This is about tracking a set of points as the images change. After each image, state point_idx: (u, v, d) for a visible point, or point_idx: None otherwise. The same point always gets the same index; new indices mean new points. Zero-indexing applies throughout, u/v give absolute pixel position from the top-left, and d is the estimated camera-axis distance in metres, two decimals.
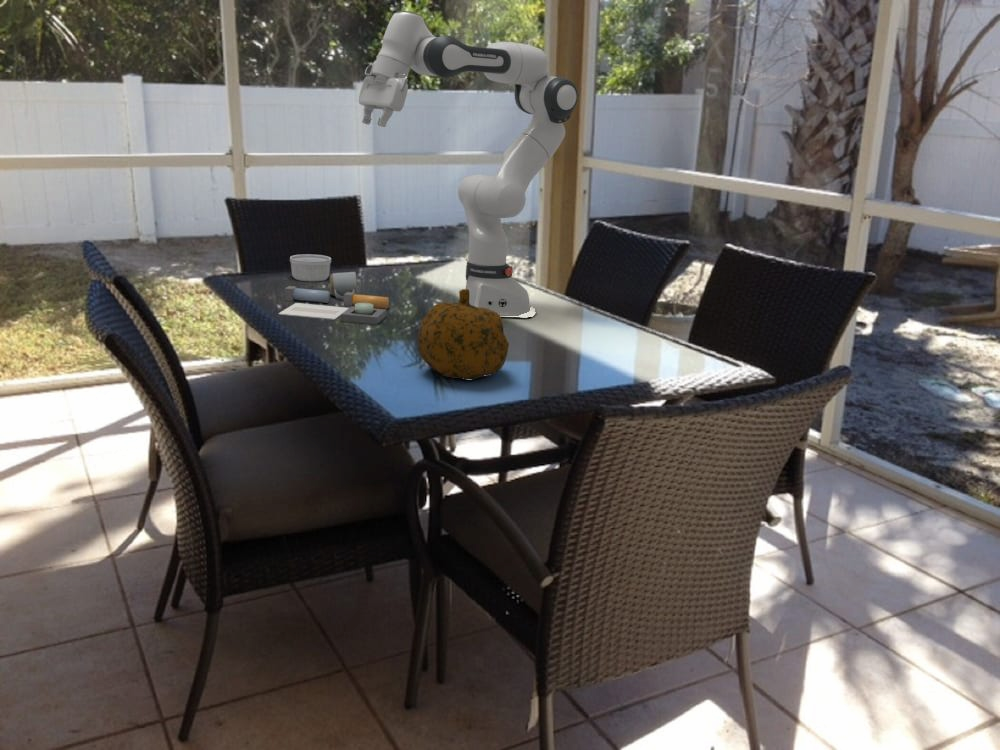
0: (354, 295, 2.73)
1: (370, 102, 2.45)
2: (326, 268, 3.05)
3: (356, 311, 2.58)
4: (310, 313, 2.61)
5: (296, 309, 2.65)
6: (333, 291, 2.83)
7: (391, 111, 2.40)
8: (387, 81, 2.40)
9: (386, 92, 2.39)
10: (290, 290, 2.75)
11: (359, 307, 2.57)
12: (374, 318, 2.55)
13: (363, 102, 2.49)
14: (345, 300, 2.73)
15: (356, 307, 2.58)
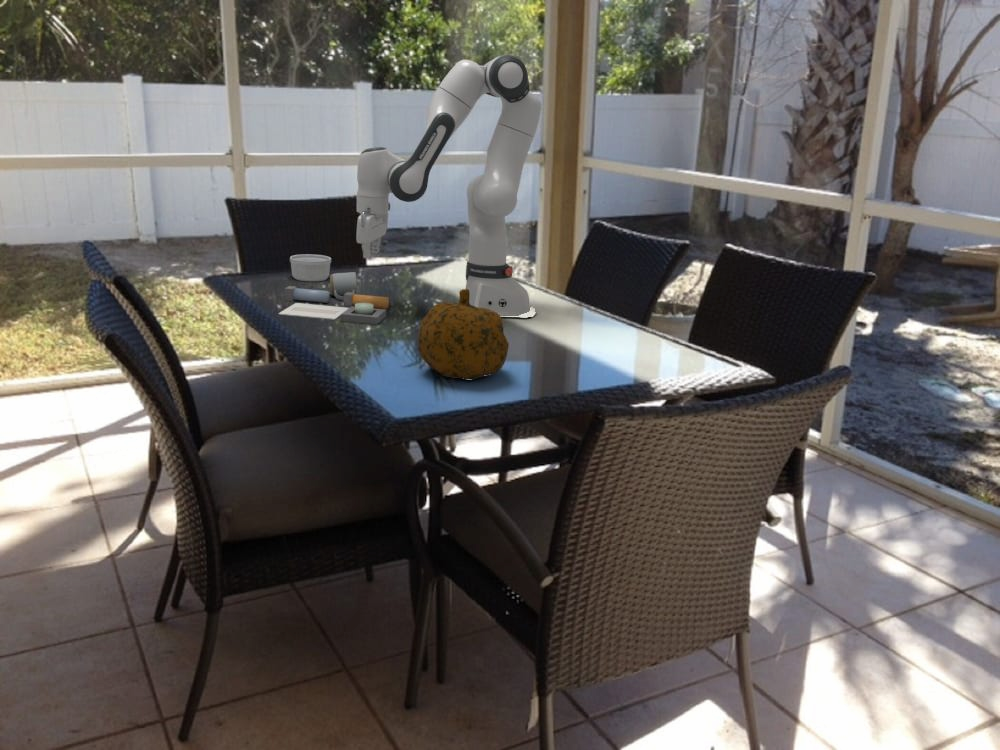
0: (354, 295, 2.73)
1: None
2: (326, 268, 3.05)
3: (356, 311, 2.58)
4: (310, 313, 2.61)
5: (296, 309, 2.65)
6: (333, 291, 2.82)
7: (367, 244, 2.62)
8: None
9: None
10: (290, 290, 2.75)
11: (359, 307, 2.57)
12: (374, 318, 2.55)
13: None
14: (345, 300, 2.73)
15: (356, 307, 2.58)
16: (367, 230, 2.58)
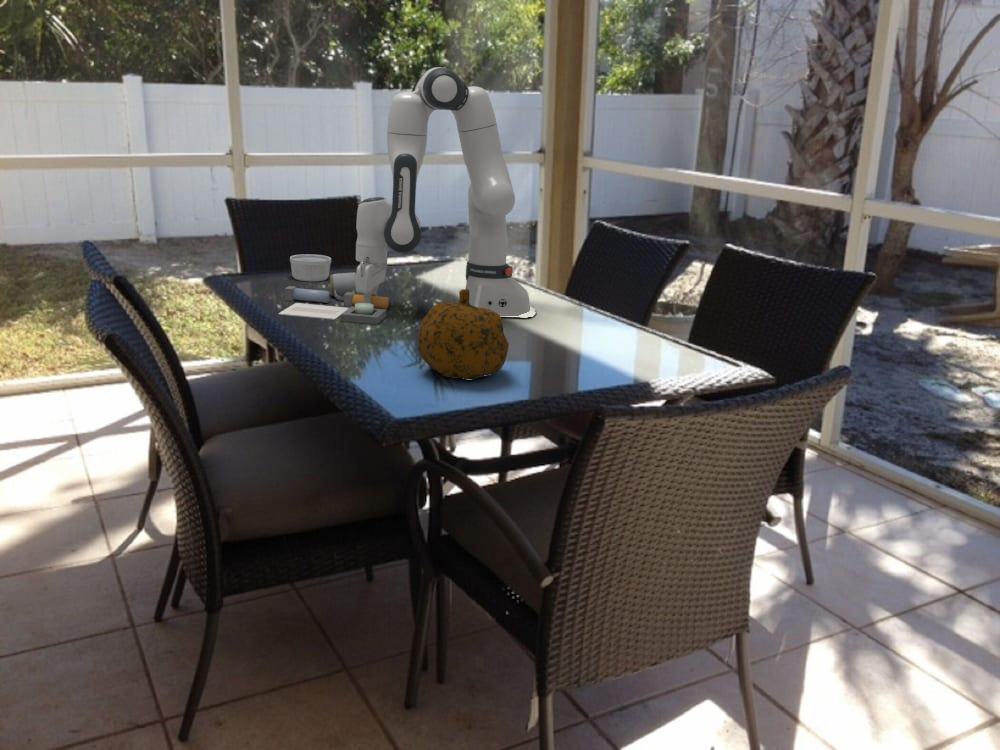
0: (354, 295, 2.73)
1: None
2: (326, 268, 3.05)
3: (356, 311, 2.58)
4: (310, 313, 2.61)
5: (296, 309, 2.65)
6: (333, 292, 2.82)
7: (368, 290, 2.68)
8: None
9: None
10: (290, 290, 2.75)
11: (359, 307, 2.57)
12: (374, 318, 2.55)
13: None
14: (345, 300, 2.73)
15: (356, 307, 2.58)
16: (366, 279, 2.62)
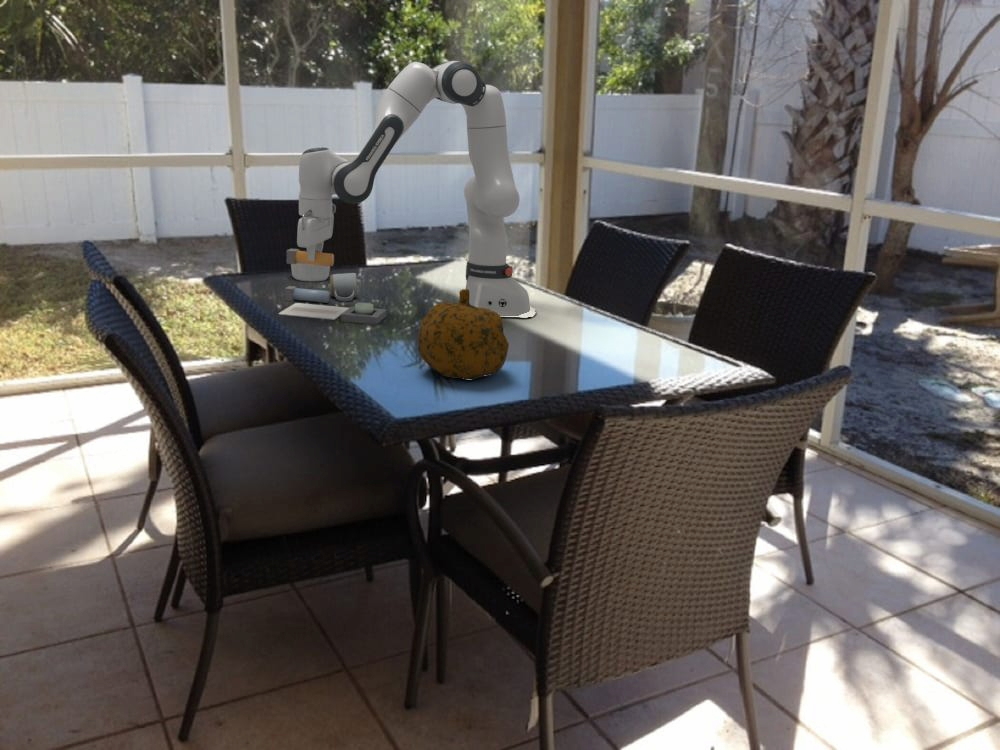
0: (297, 251, 2.60)
1: None
2: (326, 268, 3.05)
3: (356, 311, 2.58)
4: (310, 313, 2.61)
5: (296, 309, 2.65)
6: (333, 292, 2.81)
7: (312, 246, 2.55)
8: None
9: None
10: (290, 290, 2.75)
11: (359, 307, 2.57)
12: (374, 318, 2.55)
13: None
14: (288, 257, 2.60)
15: (356, 307, 2.58)
16: (308, 233, 2.49)
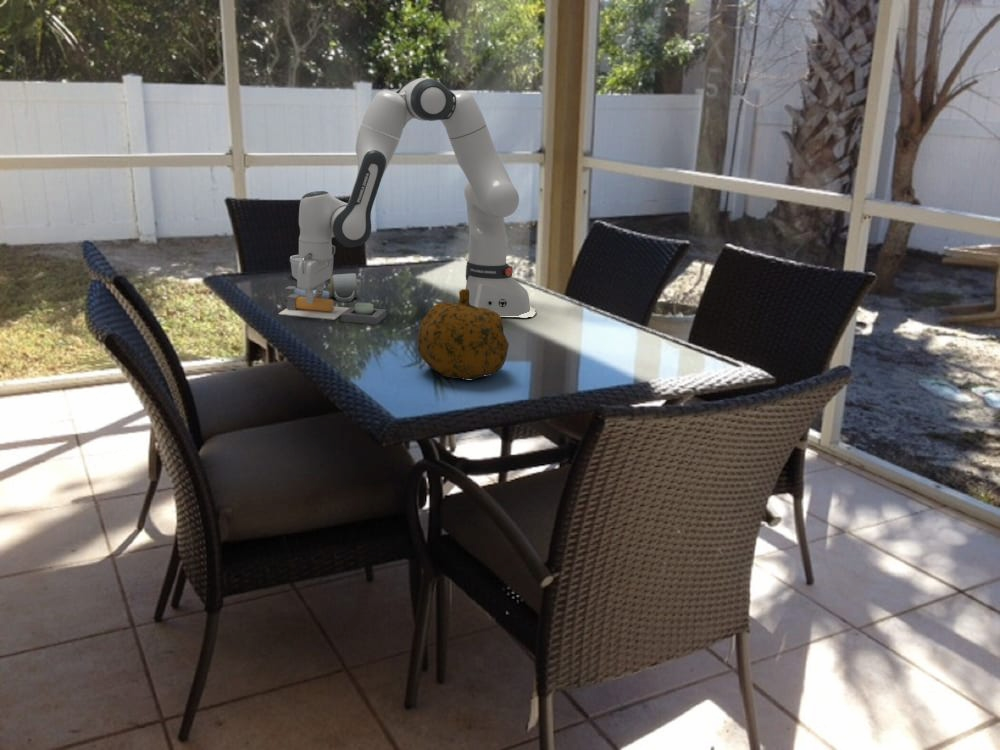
0: (298, 297, 2.64)
1: None
2: None
3: (356, 311, 2.58)
4: (310, 313, 2.61)
5: None
6: (333, 293, 2.81)
7: (310, 289, 2.57)
8: None
9: None
10: (290, 290, 2.75)
11: (359, 307, 2.57)
12: (374, 318, 2.55)
13: None
14: (289, 303, 2.63)
15: (356, 307, 2.58)
16: (308, 277, 2.52)
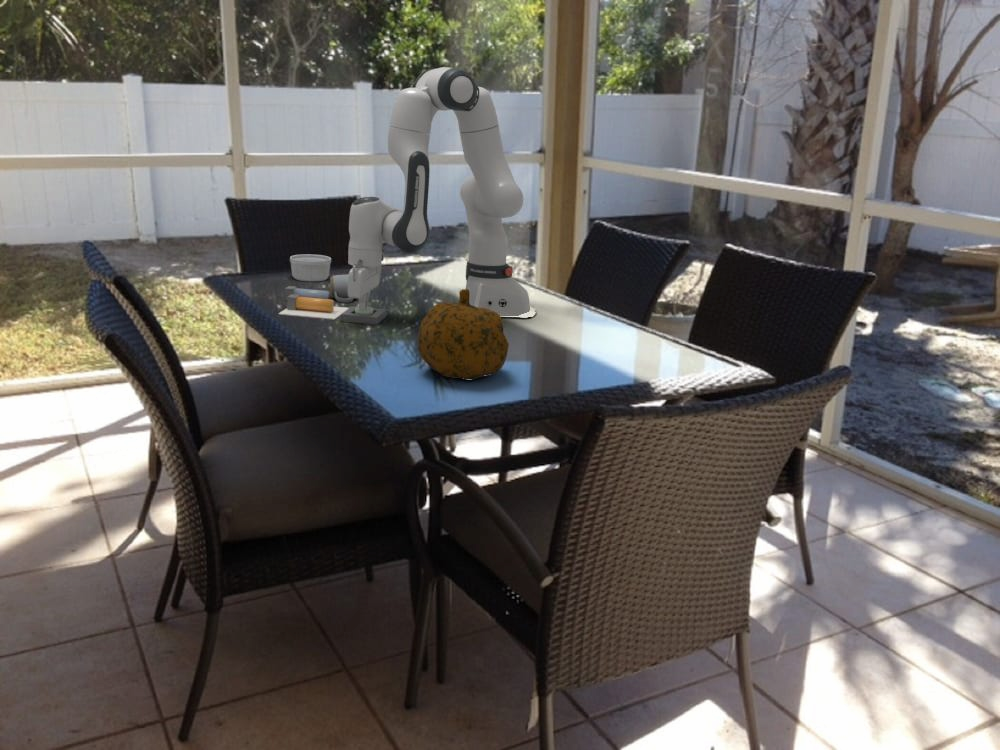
0: (298, 297, 2.64)
1: None
2: (326, 268, 3.05)
3: None
4: (310, 313, 2.61)
5: None
6: (333, 293, 2.80)
7: (363, 294, 2.56)
8: None
9: None
10: (290, 290, 2.75)
11: (359, 310, 2.57)
12: (374, 318, 2.55)
13: None
14: (289, 303, 2.63)
15: (356, 310, 2.58)
16: (359, 284, 2.48)
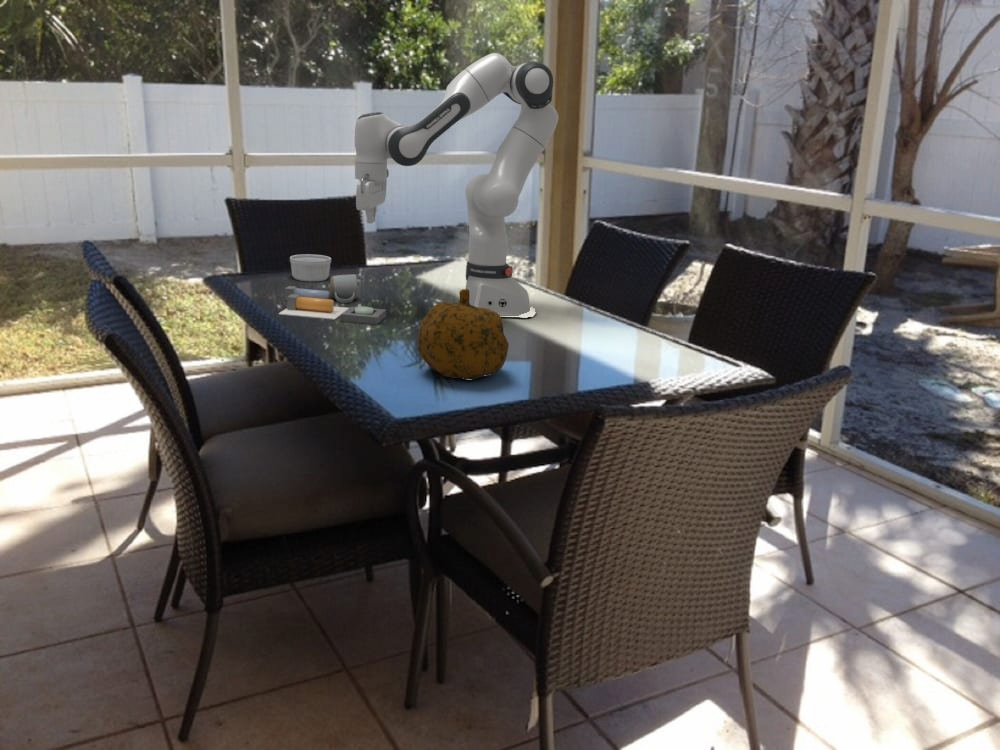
0: (298, 297, 2.64)
1: None
2: (326, 268, 3.05)
3: None
4: (310, 313, 2.61)
5: None
6: (333, 294, 2.79)
7: (371, 208, 2.63)
8: None
9: None
10: (290, 290, 2.75)
11: (359, 311, 2.58)
12: (374, 318, 2.55)
13: None
14: (289, 303, 2.63)
15: (356, 311, 2.58)
16: (367, 196, 2.55)
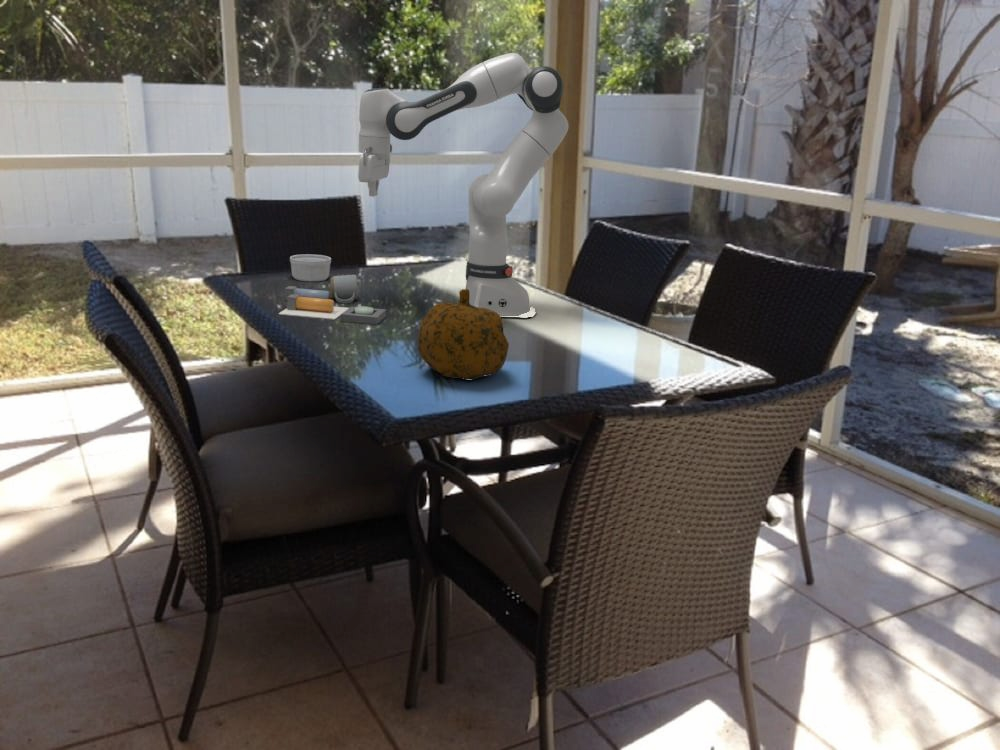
0: (298, 297, 2.64)
1: None
2: (326, 268, 3.05)
3: None
4: (310, 313, 2.61)
5: None
6: (333, 294, 2.79)
7: (373, 182, 2.69)
8: None
9: None
10: (290, 290, 2.75)
11: (359, 311, 2.58)
12: (374, 318, 2.55)
13: None
14: (289, 303, 2.63)
15: (356, 311, 2.58)
16: (369, 168, 2.61)
